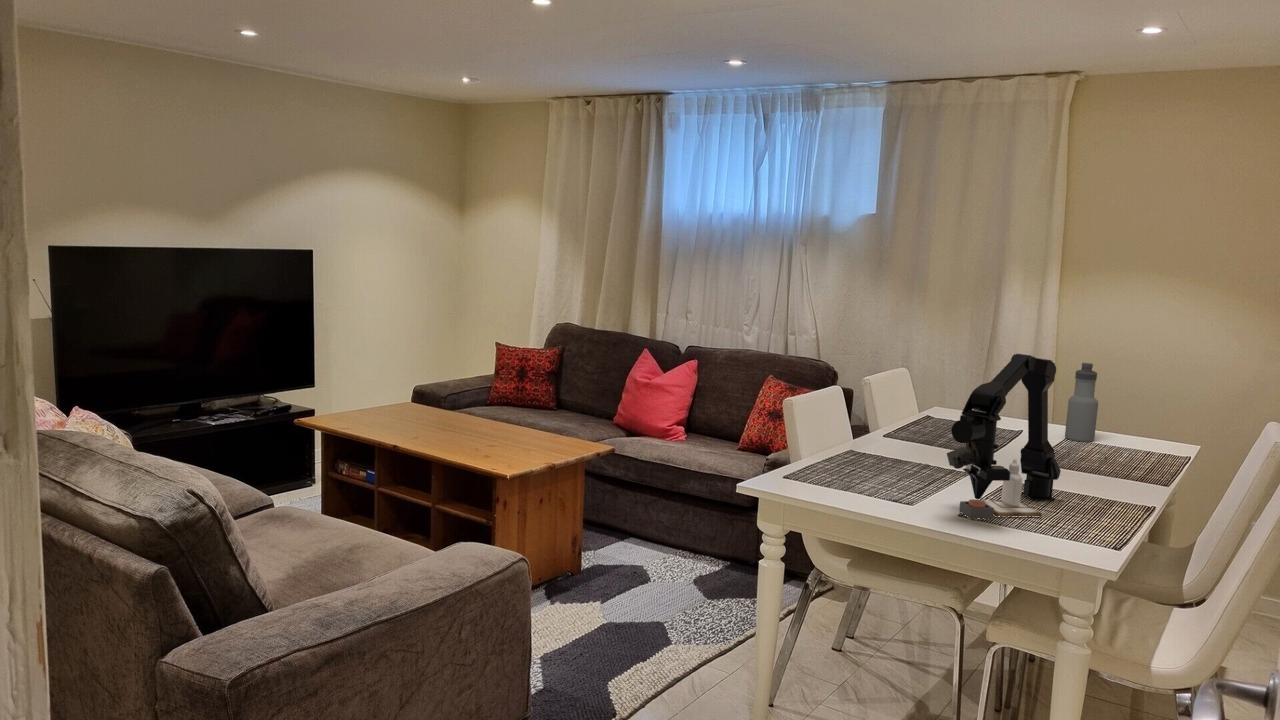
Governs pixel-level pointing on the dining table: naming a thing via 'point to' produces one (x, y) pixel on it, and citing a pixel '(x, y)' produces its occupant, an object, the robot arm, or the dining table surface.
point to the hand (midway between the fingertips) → (977, 498)
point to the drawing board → (1012, 509)
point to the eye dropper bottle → (1012, 486)
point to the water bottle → (1082, 406)
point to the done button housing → (976, 511)
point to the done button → (976, 503)
